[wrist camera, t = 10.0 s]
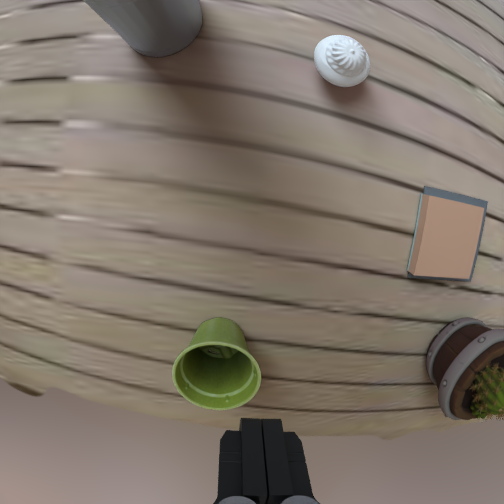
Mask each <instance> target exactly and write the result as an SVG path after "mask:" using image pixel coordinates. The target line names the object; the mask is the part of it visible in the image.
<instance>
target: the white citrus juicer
mask: <svg viewBox="0 0 504 504" xmlns="http://www.w3.org/2000/svg"><path fill="white" fill-rule="evenodd" d="M314 60H315V65H316V67H317V70H318V71H319V73H320V74H321V76H322V77H323V78H324V79H325V80H327V81H328V82H329V83H332V84H334V85H337V86H340V87H352V86H355V85H357V84H359V83H361V82H362V81H364V80H365V79H366V77H367V76H368V74H369V71H370V60H369V56H368V54H367V52H366V51H365V49H364V48H363V47H362V45H361V44H360V43H359V42H357V41H356V40H354V39H353V38H351V37H348V36H344V35H332V36H329V37H326V38H324V39H323V40H322V41H320V42H319V43H318V45H317V46H316V48H315V51H314Z"/></svg>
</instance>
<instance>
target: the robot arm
mask: <svg viewBox="0 0 504 504" xmlns="http://www.w3.org/2000/svg"><path fill="white" fill-rule="evenodd" d="M83 1H84V2H85V3H87V4H88V5H89V6H90V7H91V8H92V9H93V10H94V11H95V12H96V13H97V14H98V15H99V16H100V17H101V18H102V19H103V20H104V21H105V22H107V23H108V24H109V25H110V26H111V27H112V28H113V29H114V30H115V31H116V32H117V33H118V34H119V35H120V36H121V37H122V38H123V39H124V40H125V41H126V42H127V43H128V44H129V45H130V46H131V47H132V48H133V49H134V50H135V51H137V52H138V53H140V54H142V55H146V56H149V57H162V56H167V55H171V54H174V53H176V52H178V51H180V50H182V49H183V48H185V47H186V46H188V45H189V44H190V43H191V42H192V41H193V40H194V39H195V37H196V36H197V35H198V33H199V31H200V28H201V26H202V20H203V18H202V11H201V7H200V4H199V0H83ZM218 476H219V477H218V497H217V499H216V501H215V502H214V503H213V504H320V503H319V502H317V500H316V499H315V498H314V496H313V493H312V489H311V484H310V479H309V475H308V470H307V465H306V463H305V456H304V451H303V447H302V442H301V440H300V439H299V438H298V436H297V435H296V434H295V432H283V427H282V421H281V419H261V420H260V419H254V418H241V420H240V428H239V431H231V430H226V432H225V434H224V435H223V437H222V438H221V440H220V454H219V475H218Z"/></svg>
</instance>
